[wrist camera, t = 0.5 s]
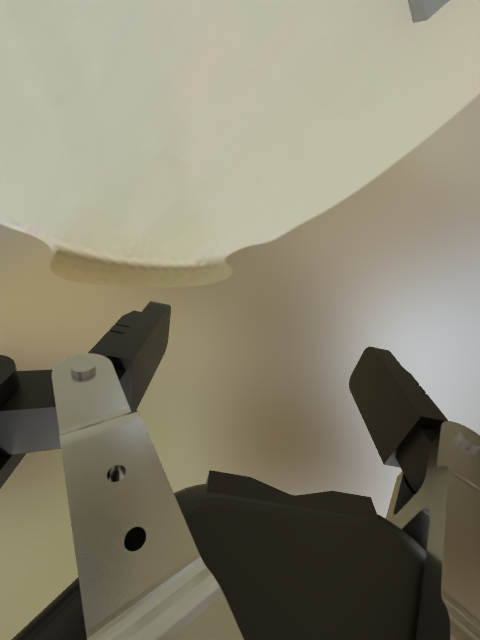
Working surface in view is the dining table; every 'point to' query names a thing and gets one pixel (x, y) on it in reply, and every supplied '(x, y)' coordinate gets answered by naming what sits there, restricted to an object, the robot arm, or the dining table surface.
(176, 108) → the dining table surface
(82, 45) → the dining table surface
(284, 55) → the dining table surface
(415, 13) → the panel
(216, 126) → the dining table surface
